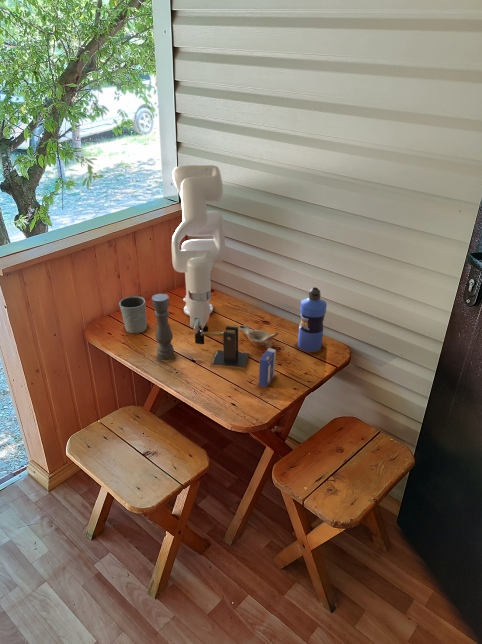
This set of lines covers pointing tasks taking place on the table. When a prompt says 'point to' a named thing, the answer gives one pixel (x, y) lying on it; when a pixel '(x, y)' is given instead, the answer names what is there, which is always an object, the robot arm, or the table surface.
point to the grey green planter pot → (134, 314)
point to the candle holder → (163, 327)
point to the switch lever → (215, 333)
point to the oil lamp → (258, 336)
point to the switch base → (231, 350)
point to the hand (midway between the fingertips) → (201, 338)
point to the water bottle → (311, 321)
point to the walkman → (267, 367)
